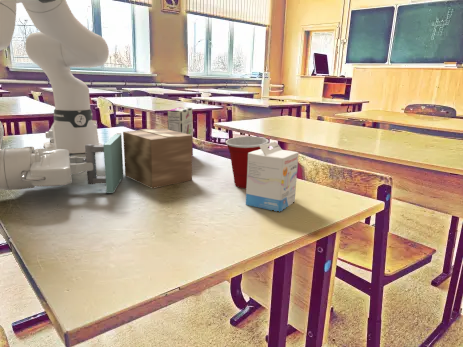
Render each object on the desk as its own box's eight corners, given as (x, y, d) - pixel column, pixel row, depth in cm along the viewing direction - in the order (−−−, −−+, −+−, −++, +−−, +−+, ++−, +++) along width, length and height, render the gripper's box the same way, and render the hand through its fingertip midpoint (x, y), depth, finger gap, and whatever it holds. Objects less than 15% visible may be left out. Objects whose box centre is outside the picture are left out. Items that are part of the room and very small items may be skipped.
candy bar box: (179, 154, 125) (179, 106, 120) (193, 155, 124) (193, 107, 120) (167, 161, 114) (166, 109, 110) (182, 163, 113) (182, 110, 109)
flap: (101, 174, 97) (98, 133, 94) (124, 174, 97) (122, 133, 94) (85, 193, 82) (81, 144, 79) (113, 192, 82) (110, 144, 79)
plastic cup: (216, 182, 94) (217, 137, 91) (249, 177, 100) (251, 134, 97) (240, 194, 85) (242, 144, 82) (274, 187, 91) (278, 141, 88)
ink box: (279, 213, 75) (284, 150, 71) (244, 204, 79) (247, 144, 75) (295, 201, 82) (300, 143, 78) (262, 194, 86) (265, 139, 82)
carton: (125, 175, 98) (123, 131, 94) (163, 169, 106) (162, 127, 102) (152, 188, 88) (151, 138, 84) (192, 179, 96) (192, 134, 92)
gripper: (16, 165, 68) (94, 160, 73) (26, 145, 86) (88, 142, 91) (21, 197, 69) (97, 189, 75) (29, 171, 87) (90, 166, 93)
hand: (92, 163), depth 83 cm, fingers open, 3 cm apart
